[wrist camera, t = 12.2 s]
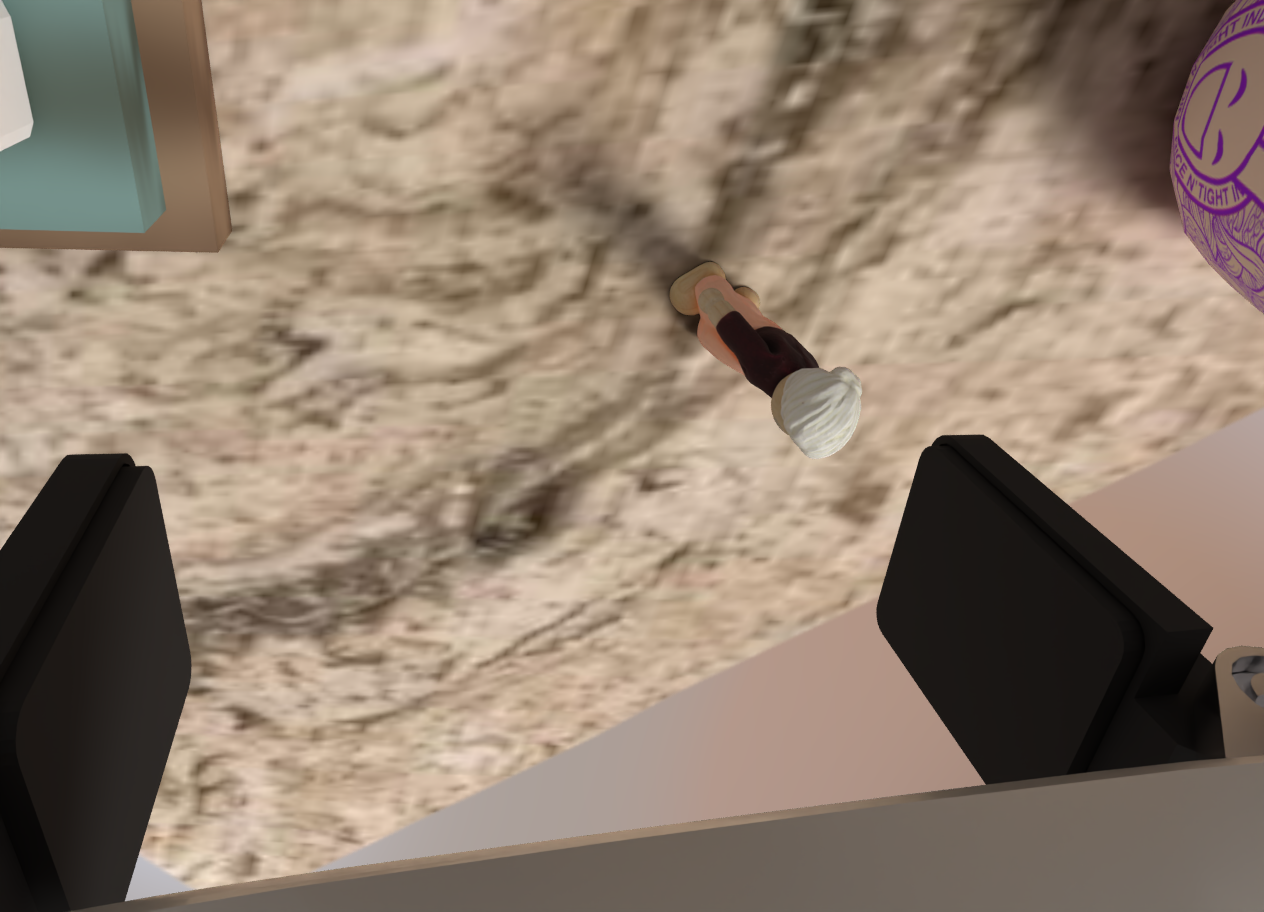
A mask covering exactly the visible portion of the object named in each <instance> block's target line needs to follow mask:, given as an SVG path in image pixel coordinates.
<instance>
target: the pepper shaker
mask: <svg viewBox="0 0 1264 912" xmlns="http://www.w3.org/2000/svg"><path fill="white" fill-rule="evenodd" d="M32 126H33V118H32V113H31V108H30V104H29V99H28V94H27V90H26V85H25V80H24V76H23V71H22V66H21V62H20V57H19V53H18V48H17V43H16V39H15V34H14V29H13V25H12V20H11V16H10V15H9V13H8V11H7V9H6V7H5V6H4V4H3V2H2V1H1V0H0V151H2V150H4V149H6V148H8V147H10V146H12V145H14V144H16V143H18V142H20V141H22V140H24V139H27V138H29V137H30V135H31V130H32Z"/></svg>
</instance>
